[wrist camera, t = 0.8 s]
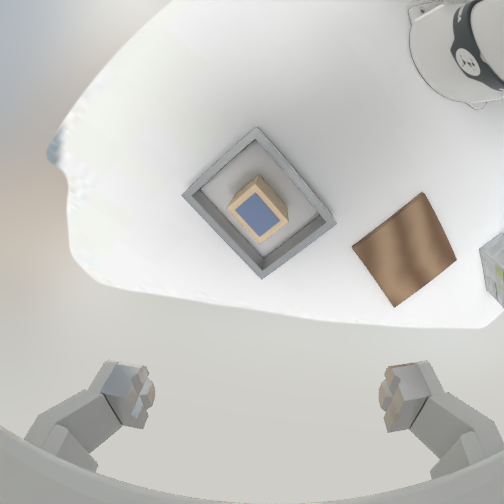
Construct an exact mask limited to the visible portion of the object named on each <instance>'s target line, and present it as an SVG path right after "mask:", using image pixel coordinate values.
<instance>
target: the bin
mask: <svg viewBox="0 0 504 504" xmlns="http://www.w3.org/2000/svg"><path fill="white" fill-rule="evenodd" d="M255 139H256V140H257V141H258V142H259V143H260V144H261V146H262V147H263V148H264V149H265V150H266V151H267V152H268V153H269V154H270V156H271V157H272V158H273V159H274V160H275V161H276V162H277V164H278V165H279V166H280V167H281V168H282V169H283V170H284V172H285V173H286V174H287V175H288V176H289V177H290V179H291V180H292V181H293V182H294V183H295V185H296V186H297V187H298V188H299V189H300V190H301V192H302V193H303V194H304V195H305V197H306V198H307V199H308V200H309V201H310V203H311V204H312V205H313V206H314V208H315V209H316V210H317V211H318V212H319V214H320V216H319V217H317V218H316V219H315V220H313V221H312V222H311V223H310V224H308V225H307V226H306V227H304V228H303V229H302V230H300V231H299V232H298V233H296V234H295V235H294V236H293V237H291V238H290V239H289V240H287V241H286V242H285V243H283V244H282V245H281V246H279V247H278V248H277V249H275V250H274V251H273V252H272V253H270V254H269V255H268V256H266V257H265V258H263V257H262V256H261V255H260V254H259V253H258V252H257V251H256V249H255V248H254V247H253V246H252V245H251V244H250V243H249V242H248V241H247V240H246V239H245V238H244V237H243V236H242V234H241V233H240V232H239V231H238V230H237V229H236V228H235V227H234V226H233V225H232V224H231V223H230V222H229V221H228V220H227V218H226V217H225V216H224V215H223V214H222V213H221V212H220V211H219V210H218V209H217V208H216V207H215V206H214V205H213V203H212V202H211V201H210V200H209V199H208V198H207V197H206V196H205V195H204V194H203V193H202V192H201V191H200V190H199V189H200V188H201V187H202V186H203V185H204V184H205V183H207V182H208V181H209V180H210V179H211V178H212V177H213V176H214V175H215V174H216V173H217V172H218V171H220V170H221V169H222V168H223V167H224V166H225V165H226V164H227V163H228V162H230V161H231V160H232V159H233V158H234V157H235V156H236V155H237V154H239V153H240V152H241V151H242V150H243V149H244V148H245V147H247V146H248V145H249V144H250V143H251V142H252V141H254V140H255ZM181 196H182V197H183V198H184V199H185V200H186V201H187V202H188V203H189V204H190V205H191V206H192V207H193V208H194V209H195V210H196V211H197V213H198V214H199V215H200V216H201V217H202V218H203V219H204V220H205V221H206V222H207V223H208V224H209V225H210V226H211V227H212V228H213V229H214V230H215V231H216V233H217V234H218V235H219V236H220V237H221V238H222V239H223V240H224V241H225V242H226V243H227V244H228V245H229V246H230V247H231V248H232V249H233V250H234V251H235V252H236V253H237V254H238V256H239V257H240V258H241V259H242V260H243V261H244V262H245V263H246V264H247V265H248V266H249V267H250V268H251V269H252V270H253V271H254V272H255V273H256V274H257V275H258V276H259V277H260V278H261V279H263V278H265V277H266V276H267V275H269V274H270V273H271V272H273V271H274V270H276V269H277V268H278V267H280V266H281V265H282V264H284V263H285V262H286V261H288V260H289V259H291V258H292V257H293V256H295V255H296V254H297V253H299V252H300V251H301V250H303V249H304V248H305V247H307V246H308V245H309V244H311V243H312V242H313V241H315V240H316V239H317V238H319V237H320V236H321V235H323V234H324V233H325V232H327V231H328V230H329V229H331V228H332V227H333V226H335V225H336V224H337V223H336V221H335V219H334V218H333V216H332V214H331V213H330V212H329V210H328V209H327V208H326V207H325V205H324V204H323V203H322V202H321V200H320V199H319V198H318V197H317V195H316V194H315V193H314V192H313V190H312V189H311V188H310V187H309V185H308V184H307V183H306V182H305V181H304V179H303V178H302V177H301V176H300V175H299V173H298V172H297V171H296V170H295V169H294V168H293V166H292V165H291V164H290V163H289V162H288V161H287V159H286V158H285V157H284V156H283V155H282V154H281V152H280V151H279V150H278V149H277V148H276V147H275V146H274V145H273V143H272V142H271V141H270V140H269V139H268V138H267V137H266V136H265V135H264V133H263V132H262V131H261V130H260V129H259V128H258V127H255V128H254V129H253V130H252V131H251V132H249V133H248V134H247V135H246V136H245V137H244V138H243V139H241V140H240V141H239V142H238V143H237V144H236V145H235V146H233V147H232V148H231V149H230V150H229V151H228V152H227V153H226V154H225V155H223V156H222V157H221V158H220V159H219V160H218V161H217V162H216V163H215V164H214V165H213V166H211V167H210V168H209V169H208V170H207V171H206V172H205V173H204V174H203V175H202V176H201V177H200V178H199V179H198V180H197V181H196V182H195V183H193V184H192V185H191V186H190V187H189V188H188V189H187V190H186V191H185V192H184V193H183V194H182V195H181Z"/></svg>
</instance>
